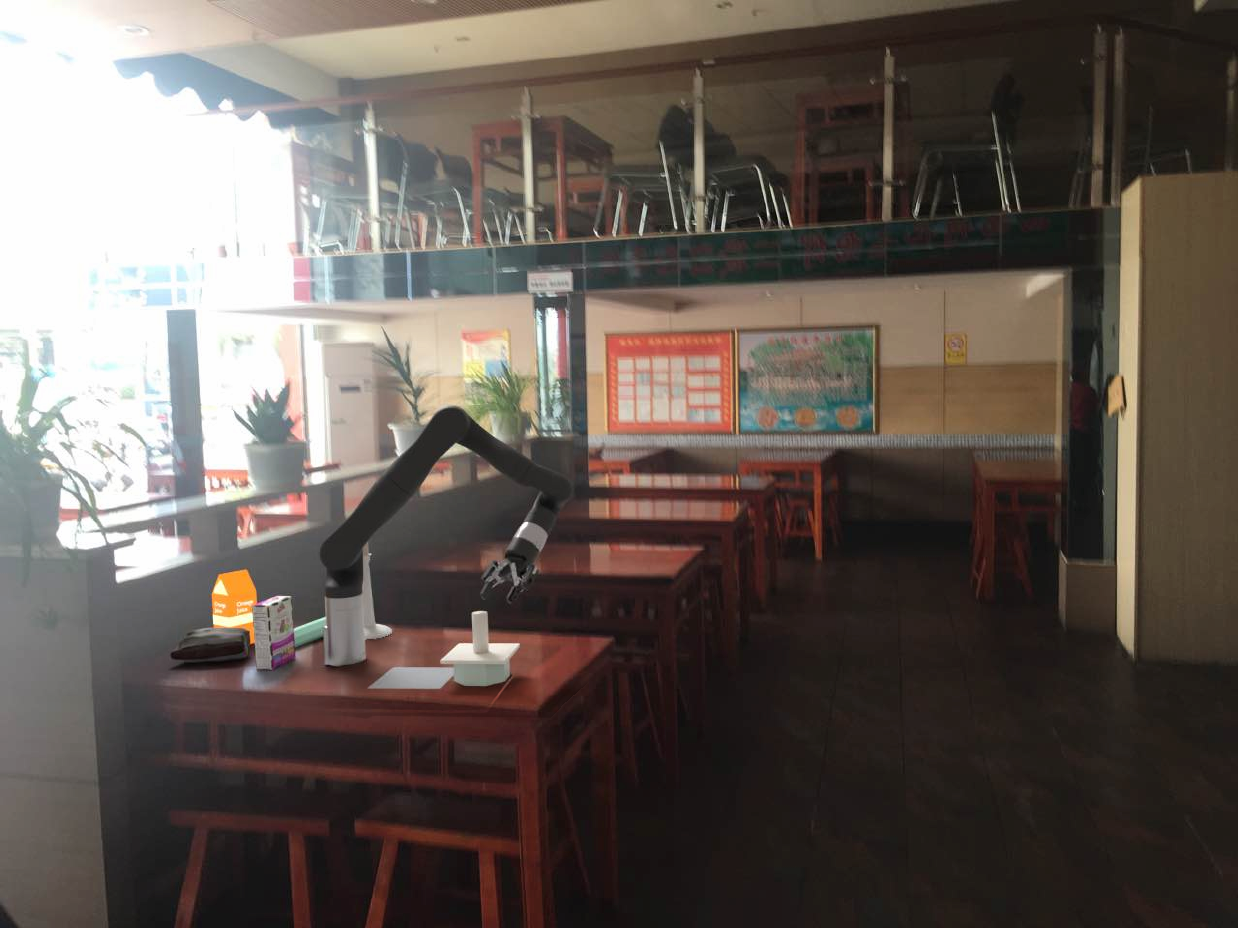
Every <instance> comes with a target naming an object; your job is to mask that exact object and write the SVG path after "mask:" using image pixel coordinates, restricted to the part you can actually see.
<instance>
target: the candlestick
mask: <svg viewBox="0 0 1238 928" xmlns="http://www.w3.org/2000/svg"><path fill="white" fill-rule="evenodd" d="M369 551H370V550H369V541H368V542H367V543H366V544H365V546H364V547H363V575H364V576H363V585H362V594H363V613H364V633H365V641H368V640H367V639H374V640H377V639H376V638H380V639H383V638H382V637H384V638H386V637H385V636H387V637H389V636H391V635H392V634H393V629H391V627H389V626H387V625H385V624H380V623H376V620H375V611H374V599H373V591H372V580H371V572H370V571H371V570H370V565H369V564H370V561H371V558H370V557H371V556H372V553H369ZM390 634H391V635H390ZM388 635H389V636H388Z"/></svg>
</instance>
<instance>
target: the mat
mask: <svg viewBox="0 0 1238 928" xmlns="http://www.w3.org/2000/svg"><path fill="white" fill-rule="evenodd" d="M452 677H454V668H453V666H452V667H451V666H450V667H442V666H441V667H437V666H436V667H433V666H432V667H428V666H427V667H425V666H423V667H418V666H417V667H416V666H415V667H413V666H411V667H408V666H407V667H405V666H400V667H399V666H396V667H395V666H393V667H392V668H391V669H389V670H388V671H387V672H386V673H384V674H383V675H382V676H380V678H378V679H377V680H376V681H374V682H373V683H372V684H371V685H370V686H368V687H367V689H369V690H370V689H371V690H372V689H373V690H374V689H381V690H382V689H387V690H390V689H393V690H394V689H396V690H397V689H398V690H406V689H407V690H441V688H443V687H444V686H445V685H446V684H447V683H448V682H449V681H450V680H451V678H452Z"/></svg>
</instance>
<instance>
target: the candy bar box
mask: <svg viewBox="0 0 1238 928" xmlns="http://www.w3.org/2000/svg"><path fill="white" fill-rule="evenodd" d="M293 615H294V614H293V600H292V596H290V595H276V596H273V597H270V598H267V599H265V600H263V601H261V602H257V604H255V605H253V606H252V616H253V629H254V642H255V643H254V654H255V655H254V656H255V669H256V670H259V671H270V670H271V671H274V670H275V669H278V668H279V667H282V666H283V665H285V664H287V663H289V662H291V661H292V660H295V659H296V658H297V656H296V647H295V641H294V616H293Z"/></svg>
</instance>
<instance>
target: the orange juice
mask: <svg viewBox="0 0 1238 928" xmlns="http://www.w3.org/2000/svg"><path fill="white" fill-rule="evenodd" d="M211 602H212V603H211V604H212V621H213V622H212V625H213V628H245V629H247V630H249V631H250V639H251V642H250V645H251V644H255V642H254V629H253V616H252V606H253V605H255V604H258V600H257V590H256V587H255V585H254V583H253V580H252V579H251V576H250V573H249V571H248V570H247V569H241V570H237V571H231V572H225V573H221V574H218V576H217V579H216V581H215V585H214V587H213V590H212V593H211Z"/></svg>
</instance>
